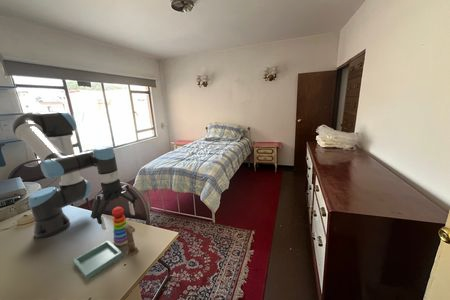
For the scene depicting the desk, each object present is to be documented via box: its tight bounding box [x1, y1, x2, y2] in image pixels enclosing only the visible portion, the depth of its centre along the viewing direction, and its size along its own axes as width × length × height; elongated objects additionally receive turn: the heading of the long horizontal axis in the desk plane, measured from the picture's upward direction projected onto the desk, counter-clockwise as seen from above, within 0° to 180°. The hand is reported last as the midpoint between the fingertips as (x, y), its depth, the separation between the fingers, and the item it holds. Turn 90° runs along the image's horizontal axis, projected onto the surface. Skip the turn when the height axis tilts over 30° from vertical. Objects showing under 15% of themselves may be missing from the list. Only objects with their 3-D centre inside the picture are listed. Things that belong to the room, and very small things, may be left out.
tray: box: [72, 239, 124, 281], centre depth 83 cm, size 14×14×2 cm
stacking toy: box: [111, 206, 128, 247], centre depth 92 cm, size 8×8×19 cm
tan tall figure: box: [123, 223, 139, 256], centre depth 85 cm, size 6×4×14 cm
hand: (119, 221), depth 91 cm, fingers open, 13 cm apart
